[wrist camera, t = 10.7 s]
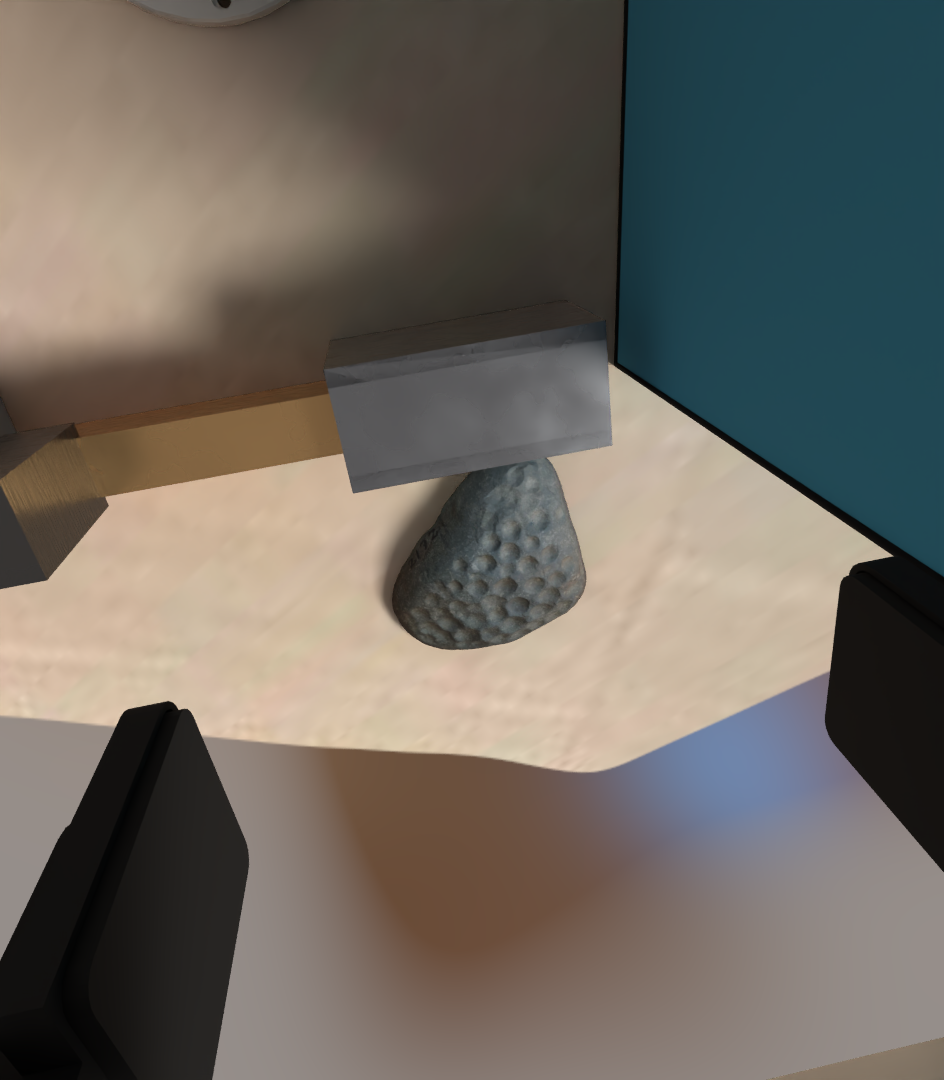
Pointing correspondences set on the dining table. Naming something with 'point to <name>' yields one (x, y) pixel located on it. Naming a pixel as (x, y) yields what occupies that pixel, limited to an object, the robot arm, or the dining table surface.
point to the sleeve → (470, 393)
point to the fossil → (493, 561)
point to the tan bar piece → (142, 464)
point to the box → (793, 244)
